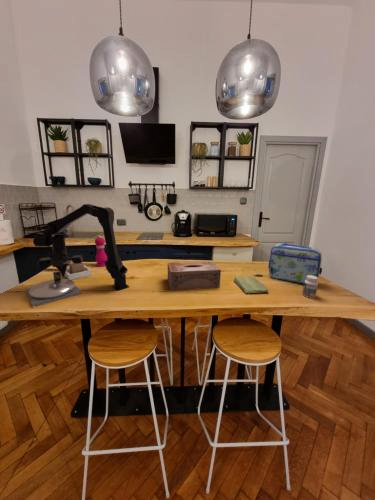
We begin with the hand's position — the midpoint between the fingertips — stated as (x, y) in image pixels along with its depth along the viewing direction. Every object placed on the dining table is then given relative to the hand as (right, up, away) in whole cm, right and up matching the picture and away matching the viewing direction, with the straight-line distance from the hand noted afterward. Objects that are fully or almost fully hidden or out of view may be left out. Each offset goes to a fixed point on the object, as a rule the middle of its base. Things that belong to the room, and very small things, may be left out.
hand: (63, 276), depth 107 cm
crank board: (-1, -7, -7) cm, 10 cm away
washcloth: (+96, -7, +6) cm, 96 cm away
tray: (-1, -1, +15) cm, 15 cm away
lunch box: (+123, -4, +16) cm, 124 cm away
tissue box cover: (+65, -5, +8) cm, 66 cm away
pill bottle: (+122, -9, -3) cm, 123 cm away
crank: (-1, -5, -7) cm, 9 cm away
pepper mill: (+7, +3, +31) cm, 32 cm away
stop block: (-1, 0, +15) cm, 15 cm away
